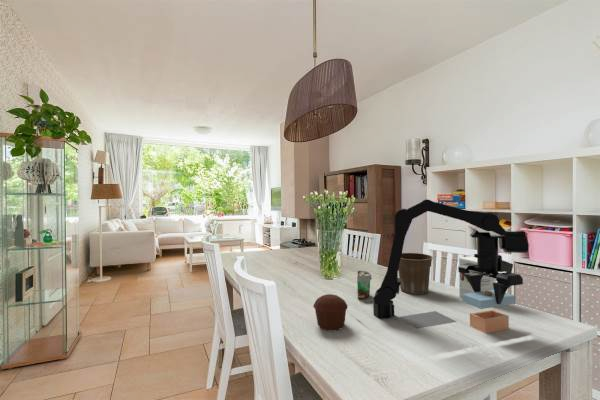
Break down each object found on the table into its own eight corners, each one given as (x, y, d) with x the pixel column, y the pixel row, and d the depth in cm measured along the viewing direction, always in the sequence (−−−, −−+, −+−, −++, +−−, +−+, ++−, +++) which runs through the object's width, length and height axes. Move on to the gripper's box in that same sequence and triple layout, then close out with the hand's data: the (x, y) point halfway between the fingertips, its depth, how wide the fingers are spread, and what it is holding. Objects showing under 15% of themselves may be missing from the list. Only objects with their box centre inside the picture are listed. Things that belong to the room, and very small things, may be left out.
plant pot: (436, 297, 129) (435, 259, 129) (396, 295, 133) (396, 258, 133) (430, 286, 145) (429, 253, 145) (395, 284, 149) (394, 252, 149)
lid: (480, 309, 91) (480, 297, 91) (462, 301, 98) (462, 290, 98) (515, 303, 95) (515, 292, 95) (495, 296, 102) (495, 286, 102)
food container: (372, 301, 126) (372, 277, 126) (357, 300, 127) (357, 276, 127) (371, 292, 138) (371, 270, 138) (358, 291, 139) (357, 270, 139)
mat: (416, 331, 97) (416, 328, 97) (398, 319, 106) (398, 316, 106) (456, 324, 101) (456, 321, 101) (435, 313, 111) (435, 311, 111)
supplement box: (458, 296, 130) (457, 257, 130) (474, 293, 133) (473, 255, 133) (478, 303, 121) (478, 261, 121) (495, 300, 124) (494, 259, 124)
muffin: (351, 321, 106) (350, 292, 106) (343, 334, 96) (343, 303, 96) (319, 317, 110) (318, 289, 110) (308, 329, 100) (308, 299, 100)
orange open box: (485, 336, 92) (485, 320, 92) (470, 328, 98) (469, 313, 98) (508, 331, 95) (508, 315, 95) (492, 324, 101) (492, 309, 101)
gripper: (536, 254, 90) (536, 307, 90) (481, 245, 108) (482, 289, 108) (508, 257, 87) (508, 311, 87) (456, 247, 105) (457, 292, 105)
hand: (488, 300), depth 97 cm, fingers closed on lid, 7 cm apart
